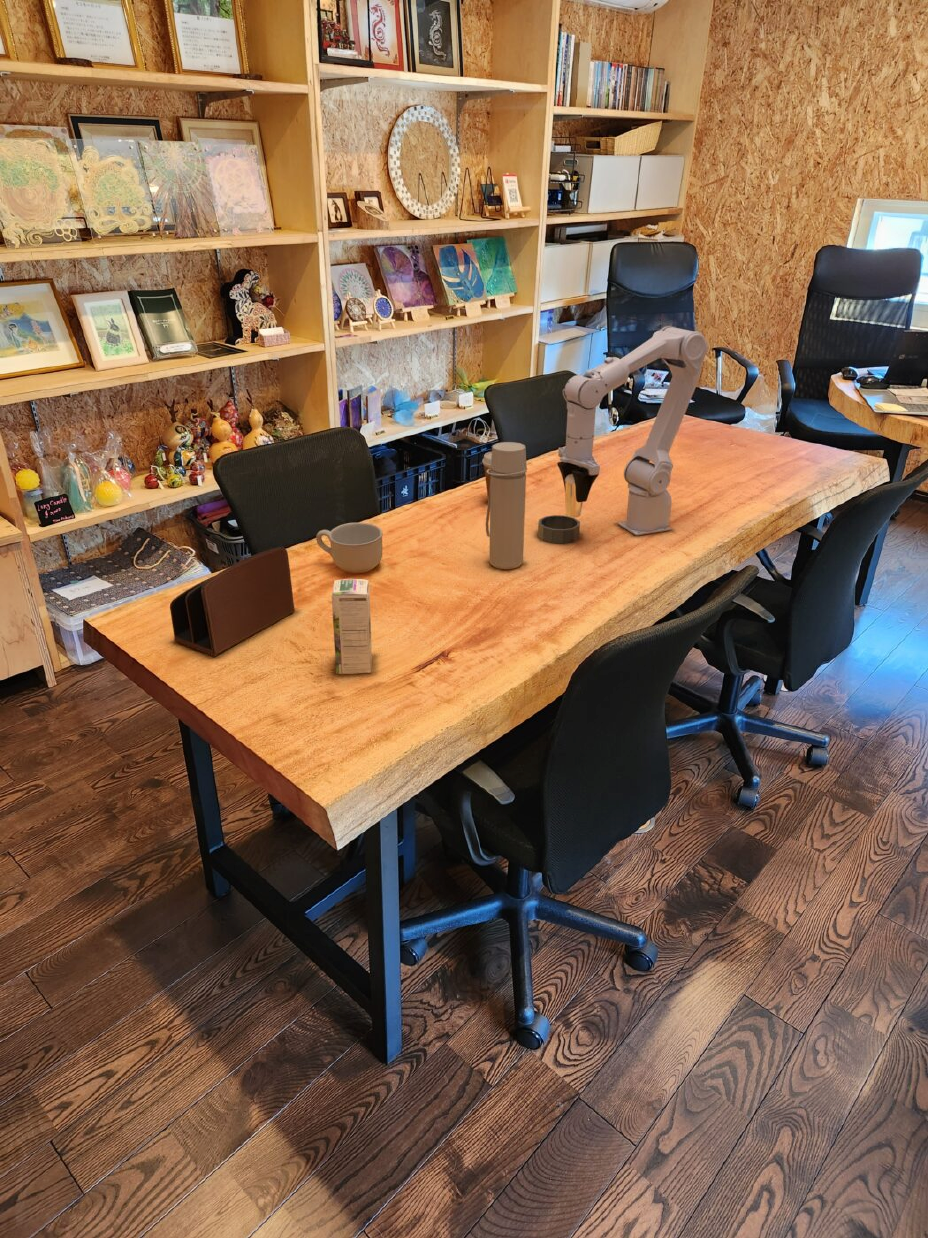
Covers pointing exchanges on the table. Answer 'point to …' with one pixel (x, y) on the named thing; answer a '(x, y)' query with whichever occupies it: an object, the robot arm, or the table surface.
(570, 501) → the milkshake
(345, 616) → the syrup box
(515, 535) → the water bottle
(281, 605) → the letter holder
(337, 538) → the teacup
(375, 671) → the table surface
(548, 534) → the brown hollow ring
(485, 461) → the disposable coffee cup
